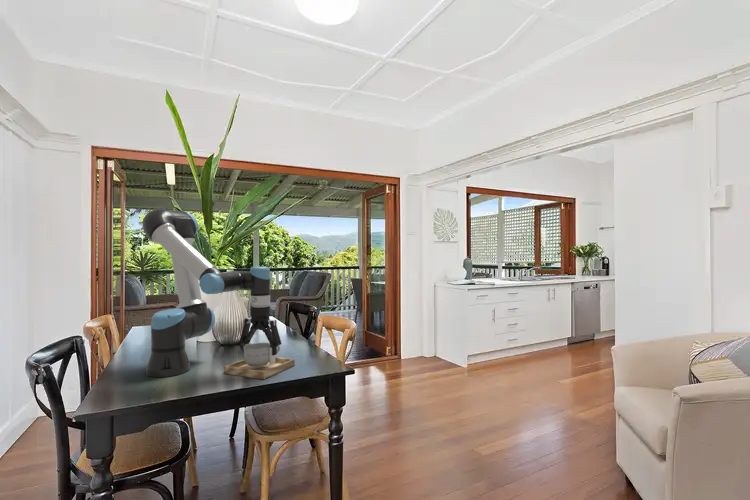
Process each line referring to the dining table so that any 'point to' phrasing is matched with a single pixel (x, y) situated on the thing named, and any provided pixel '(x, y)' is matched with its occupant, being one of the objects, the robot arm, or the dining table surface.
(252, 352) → the teacup
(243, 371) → the serving tray
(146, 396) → the dining table surface
